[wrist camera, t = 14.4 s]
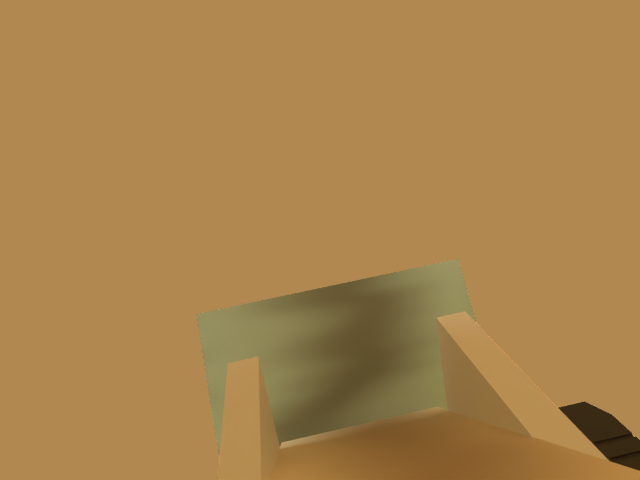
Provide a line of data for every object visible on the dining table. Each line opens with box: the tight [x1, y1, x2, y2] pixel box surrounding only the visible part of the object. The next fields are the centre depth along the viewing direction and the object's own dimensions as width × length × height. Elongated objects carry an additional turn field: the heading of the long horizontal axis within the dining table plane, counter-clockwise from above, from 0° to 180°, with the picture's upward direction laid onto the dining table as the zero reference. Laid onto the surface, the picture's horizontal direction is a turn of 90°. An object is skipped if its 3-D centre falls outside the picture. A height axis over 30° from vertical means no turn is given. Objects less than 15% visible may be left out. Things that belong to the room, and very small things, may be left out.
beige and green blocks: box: [197, 259, 640, 480], centre depth 13 cm, size 8×16×7 cm, turn 1°
